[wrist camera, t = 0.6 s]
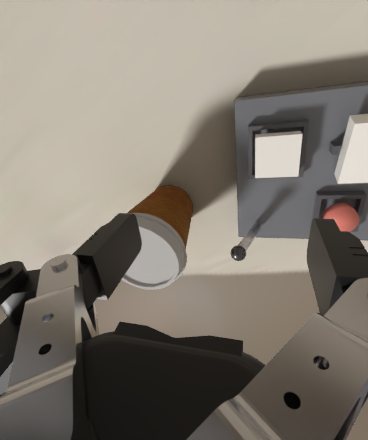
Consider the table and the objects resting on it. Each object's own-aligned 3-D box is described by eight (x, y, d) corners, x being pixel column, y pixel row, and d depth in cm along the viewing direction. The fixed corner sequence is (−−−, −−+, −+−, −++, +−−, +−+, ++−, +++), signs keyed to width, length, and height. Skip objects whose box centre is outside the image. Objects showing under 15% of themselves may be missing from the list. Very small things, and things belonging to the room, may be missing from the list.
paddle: (255, 134, 24) (255, 137, 23) (300, 130, 23) (302, 133, 22) (255, 173, 26) (255, 178, 25) (296, 172, 25) (298, 176, 24)
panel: (236, 97, 27) (233, 103, 23) (405, 76, 23) (433, 79, 19) (239, 224, 35) (237, 243, 31) (365, 226, 31) (379, 248, 27)
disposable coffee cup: (162, 159, 33) (121, 202, 23) (218, 204, 34) (202, 263, 24) (129, 206, 38) (84, 257, 28) (179, 243, 39) (152, 304, 29)
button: (325, 202, 26) (327, 208, 25) (358, 202, 25) (362, 208, 24) (321, 227, 28) (323, 233, 27) (352, 227, 27) (356, 234, 26)
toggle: (252, 217, 31) (227, 249, 26) (265, 220, 30) (242, 253, 25) (252, 228, 31) (228, 261, 27) (264, 231, 31) (242, 265, 26)
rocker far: (350, 115, 21) (354, 123, 20) (400, 110, 20) (408, 119, 19) (334, 174, 25) (337, 183, 24) (375, 172, 24) (381, 182, 23)
